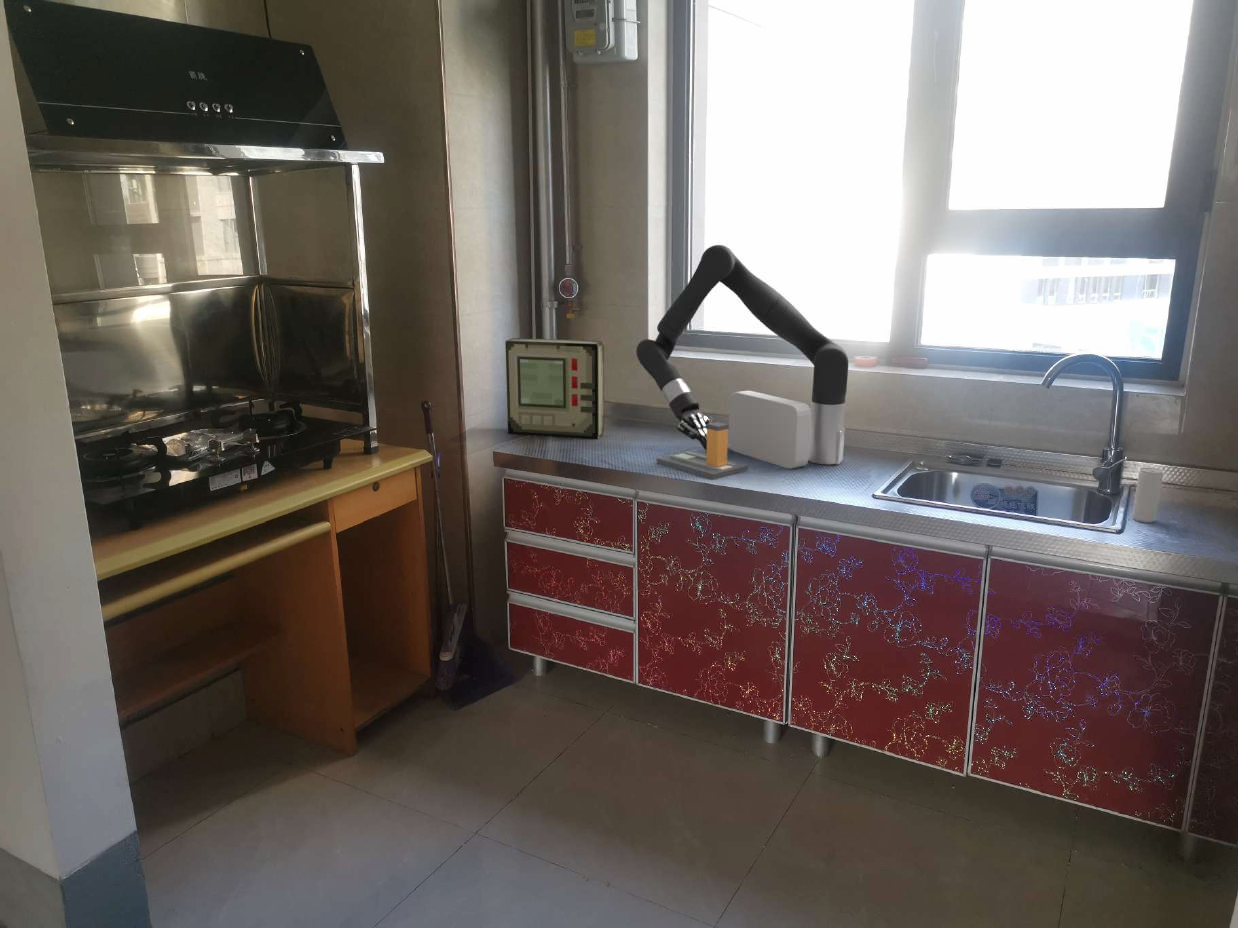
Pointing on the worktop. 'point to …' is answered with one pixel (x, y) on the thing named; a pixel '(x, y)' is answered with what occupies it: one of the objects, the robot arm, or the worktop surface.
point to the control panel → (555, 387)
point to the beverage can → (1147, 494)
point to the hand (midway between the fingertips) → (710, 448)
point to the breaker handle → (717, 443)
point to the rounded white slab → (770, 428)
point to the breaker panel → (701, 465)
